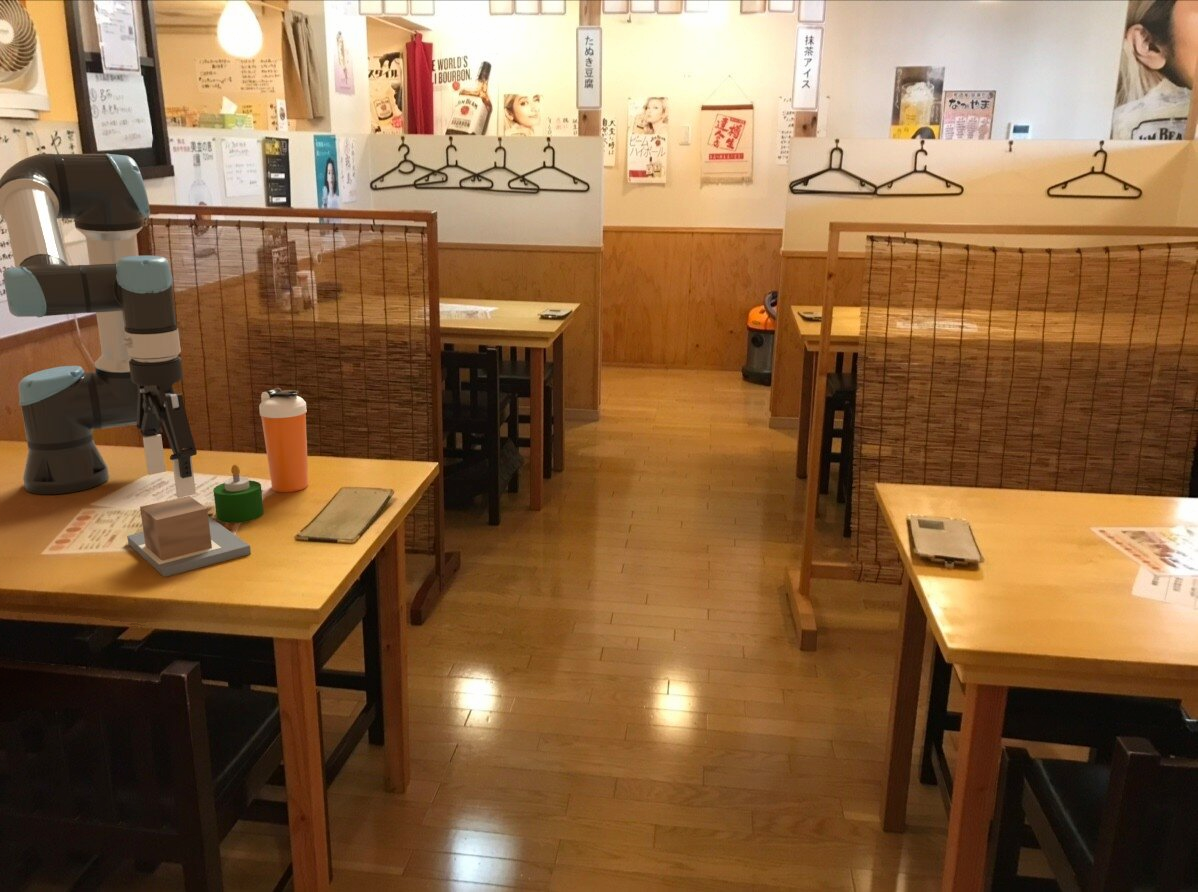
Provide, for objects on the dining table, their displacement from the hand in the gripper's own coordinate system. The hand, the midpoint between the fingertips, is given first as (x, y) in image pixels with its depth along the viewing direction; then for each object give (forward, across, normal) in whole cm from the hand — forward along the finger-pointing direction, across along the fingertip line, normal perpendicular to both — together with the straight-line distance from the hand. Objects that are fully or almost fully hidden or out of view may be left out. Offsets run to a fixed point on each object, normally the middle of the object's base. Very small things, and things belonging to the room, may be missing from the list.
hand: (171, 483), depth 153 cm
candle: (+13, -11, +15) cm, 23 cm away
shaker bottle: (+13, -20, +29) cm, 38 cm away
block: (+11, +1, 0) cm, 11 cm away
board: (+13, -1, +2) cm, 13 cm away
